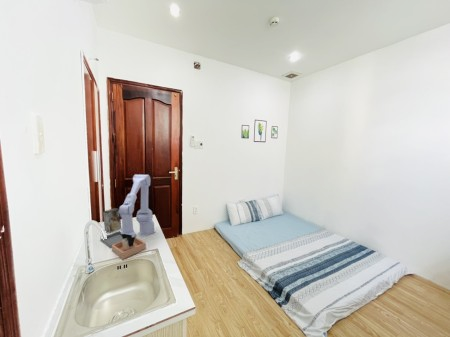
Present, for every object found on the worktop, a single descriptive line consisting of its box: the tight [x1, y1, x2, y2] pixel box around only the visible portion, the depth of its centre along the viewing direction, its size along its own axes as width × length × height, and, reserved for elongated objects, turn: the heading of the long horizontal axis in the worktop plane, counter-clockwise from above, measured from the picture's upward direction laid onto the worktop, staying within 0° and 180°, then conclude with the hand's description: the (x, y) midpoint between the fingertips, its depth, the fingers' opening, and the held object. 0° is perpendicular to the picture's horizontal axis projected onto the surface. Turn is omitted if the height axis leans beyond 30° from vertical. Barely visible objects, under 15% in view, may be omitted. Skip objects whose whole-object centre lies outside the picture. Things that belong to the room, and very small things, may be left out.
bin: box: [111, 236, 147, 260], centre depth 118 cm, size 14×14×4 cm
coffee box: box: [102, 207, 122, 234], centre depth 143 cm, size 9×6×16 cm
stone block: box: [122, 238, 135, 250], centre depth 117 cm, size 5×5×5 cm
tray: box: [99, 230, 123, 249], centre depth 128 cm, size 13×16×2 cm
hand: (128, 244), depth 117 cm, fingers closed on stone block, 5 cm apart
